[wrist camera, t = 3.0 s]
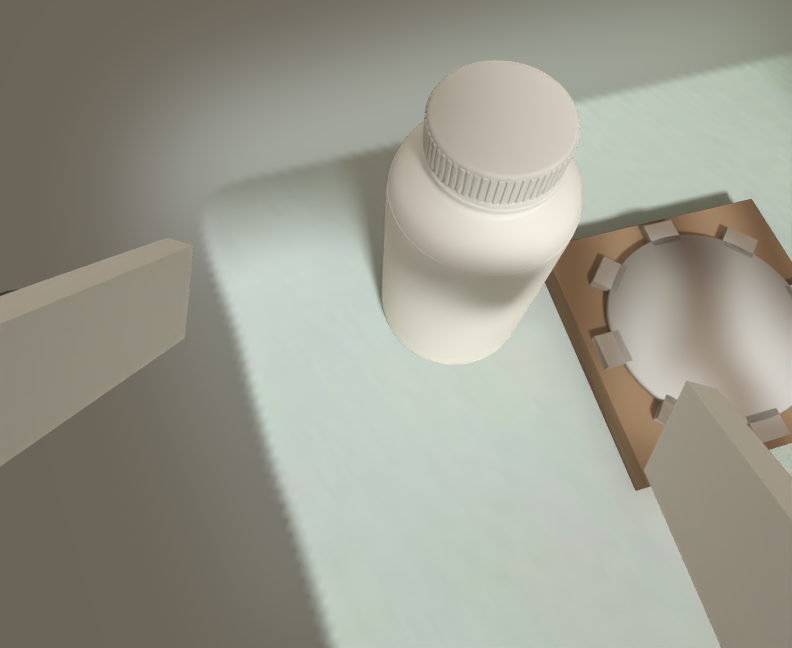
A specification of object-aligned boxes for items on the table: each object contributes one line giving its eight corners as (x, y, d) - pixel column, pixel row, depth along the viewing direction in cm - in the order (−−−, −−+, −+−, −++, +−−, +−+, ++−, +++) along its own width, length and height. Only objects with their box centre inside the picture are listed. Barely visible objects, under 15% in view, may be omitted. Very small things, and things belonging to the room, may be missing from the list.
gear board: (737, 212, 36) (756, 193, 34) (865, 419, 31) (896, 410, 29) (535, 260, 34) (545, 242, 32) (635, 490, 29) (654, 485, 27)
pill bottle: (363, 347, 31) (357, 172, 18) (403, 230, 34) (425, 6, 21) (501, 387, 31) (608, 240, 17) (529, 265, 34) (637, 58, 20)
